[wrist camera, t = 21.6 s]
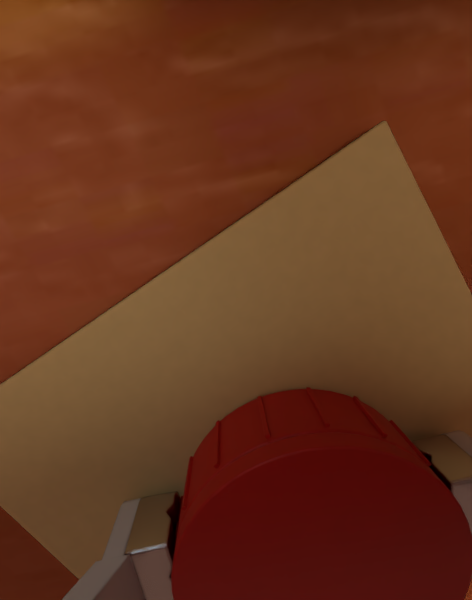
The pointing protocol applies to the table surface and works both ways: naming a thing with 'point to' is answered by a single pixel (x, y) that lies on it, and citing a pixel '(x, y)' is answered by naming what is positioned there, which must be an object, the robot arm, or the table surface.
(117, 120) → the table surface
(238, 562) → the red lid
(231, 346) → the cork mat
